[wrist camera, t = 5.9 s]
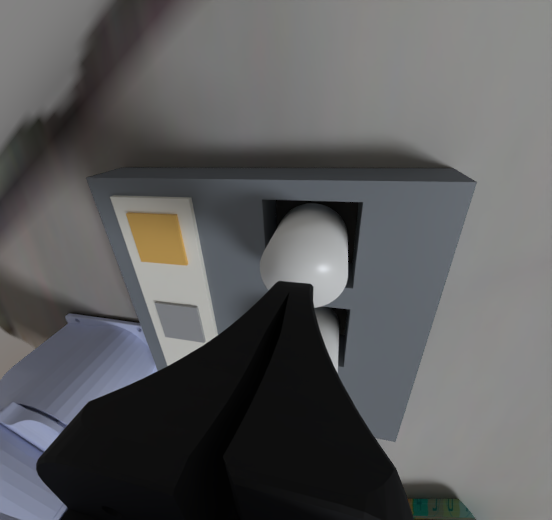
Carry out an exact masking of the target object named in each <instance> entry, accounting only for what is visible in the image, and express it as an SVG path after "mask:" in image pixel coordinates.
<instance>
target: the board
mask: <svg viewBox="0 0 552 520" xmlns="http://www.w3.org/2000/svg"><path fill="white" fill-rule="evenodd" d="M86 179H87V182H88V184H89V187H90V190H91V193H92V195H93V198H94V201H95V203H96V206H97V209H98V211H99V214H100V217H101V220H102V222H103V225H104V228H105V230H106V233H107V236H108V238H109V241H110V244H111V246H112V249H113V252H114V255H115V257H116V260H117V263H118V265H119V268H120V271H121V273H122V276H123V279H124V281H125V284H126V287H127V290H128V292H129V295H130V298H131V300H132V303H133V306H134V308H135V311H136V314H137V317H138V319H139V322H140V325H141V327H142V330H143V333H144V335H145V338H146V341H147V343H148V346H149V349H150V352H151V354H152V357H153V360H154V362H155V365H156V368H157V370H158V371H159V370H161V369H163V368H165V367H167V366H169V365H171V364H173V363H174V362H176V361H178V360H180V359H181V358H183V357H185V356H186V355H188V354H190V353H191V352H193V351H195V350H196V349H198V348H200V347H201V346H203V345H204V344H206V343H207V342H209V341H210V340H212V339H213V338H215V337H216V336H217V335H219V334H220V333H221V332H223V331H224V330H225V329H227V328H228V327H229V326H230V325H232V324H233V323H234V322H235V321H236V320H238V319H239V318H240V317H241V316H242V315H243V314H245V313H246V312H247V311H248V310H249V309H250V308H251V307H252V306H253V305H254V304H255V303H256V302H258V301H259V300H260V299H261V298H262V297H263V296H264V295H265V294H266V293H267V292H268V289H267V288H266V286H265V284H264V282H263V280H262V277H261V274H260V260H261V257H262V254H263V252H264V250H265V249H266V247H267V245H268V243H269V242H270V240H271V238H272V236H273V235H274V233H275V231H276V229H277V220H276V200H301V201H337V202H359V205H358V214H357V223H356V233H355V242H354V251H353V260H352V263H351V262H348V279H347V283H346V286H345V288H344V290H343V292H342V293H341V294H340V295H339V296H338V297H337V298H336V299H335V300H334V301H332V302H331V303H329V304H327V305H324V306H323V307H332V308H342V309H347V314H346V323H345V333H344V335H339V350H338V375H339V378H340V380H341V382H342V383H343V385H344V387H345V389H346V391H347V392H348V394H349V396H350V398H351V400H352V401H353V403H354V405H355V407H356V409H357V410H358V412H359V413H360V415H361V417H362V418H363V420H364V422H365V423H366V425H367V426H368V428H369V430H370V431H371V433H372V434H373V436H374V437H375V438H378V439H383V440H388V441H393V442H395V441H396V438H397V435H398V432H399V429H400V425H401V422H402V419H403V416H404V413H405V410H406V406H407V403H408V400H409V397H410V394H411V390H412V387H413V384H414V381H415V378H416V374H417V371H418V368H419V365H420V362H421V359H422V355H423V352H424V349H425V346H426V343H427V339H428V336H429V333H430V330H431V327H432V323H433V320H434V317H435V314H436V311H437V308H438V304H439V301H440V298H441V295H442V292H443V288H444V285H445V282H446V279H447V276H448V272H449V269H450V266H451V263H452V260H453V257H454V253H455V250H456V247H457V244H458V241H459V237H460V234H461V231H462V228H463V225H464V221H465V218H466V215H467V212H468V209H469V206H470V202H471V199H472V196H473V193H474V190H475V186H476V183H477V182H476V181H474V180H472V179H471V178H469V177H467V176H466V175H464V174H462V173H461V172H459V171H457V170H456V169H454V168H119V169H115V170H112V171H108V172H105V173H101V174H97V175H94V176H90V177H87V178H86Z"/></svg>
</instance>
